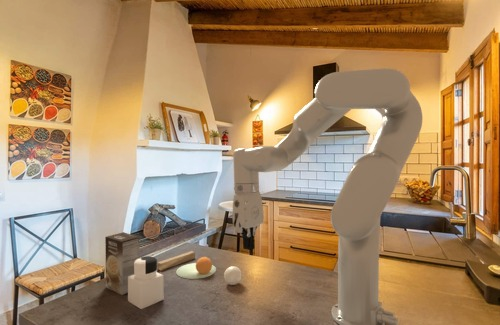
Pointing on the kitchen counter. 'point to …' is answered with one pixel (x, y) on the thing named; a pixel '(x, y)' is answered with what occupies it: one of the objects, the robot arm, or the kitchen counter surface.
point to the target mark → (193, 272)
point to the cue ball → (232, 275)
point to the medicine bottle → (145, 283)
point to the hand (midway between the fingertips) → (248, 248)
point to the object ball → (203, 265)
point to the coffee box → (120, 260)
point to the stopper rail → (175, 260)
